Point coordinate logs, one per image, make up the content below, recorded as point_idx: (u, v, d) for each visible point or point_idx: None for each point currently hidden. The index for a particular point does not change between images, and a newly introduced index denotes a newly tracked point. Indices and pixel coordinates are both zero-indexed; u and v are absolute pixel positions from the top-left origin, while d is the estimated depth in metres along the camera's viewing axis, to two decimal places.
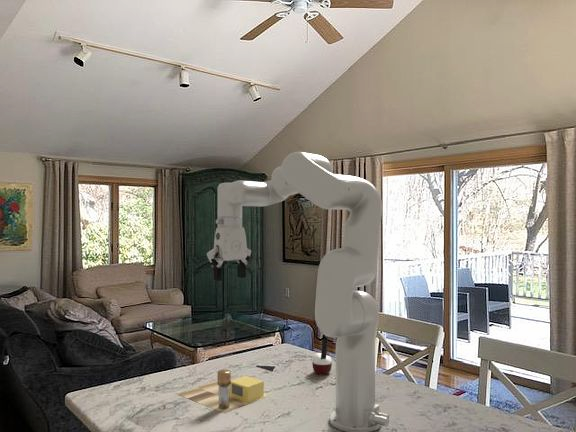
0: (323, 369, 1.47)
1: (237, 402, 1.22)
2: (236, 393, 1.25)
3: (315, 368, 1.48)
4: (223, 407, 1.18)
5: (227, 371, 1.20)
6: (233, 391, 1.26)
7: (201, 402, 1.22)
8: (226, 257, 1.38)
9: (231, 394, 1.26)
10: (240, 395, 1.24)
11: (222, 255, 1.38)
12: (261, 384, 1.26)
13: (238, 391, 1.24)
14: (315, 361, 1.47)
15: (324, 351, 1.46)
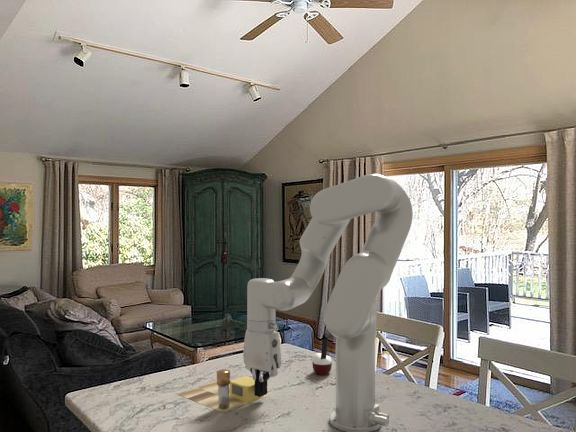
0: (323, 369, 1.47)
1: (237, 402, 1.22)
2: (236, 393, 1.25)
3: (315, 368, 1.48)
4: (223, 407, 1.18)
5: (226, 371, 1.20)
6: (233, 391, 1.26)
7: (201, 402, 1.22)
8: None
9: (231, 394, 1.26)
10: (240, 395, 1.24)
11: (280, 363, 1.22)
12: None
13: (238, 391, 1.24)
14: (315, 361, 1.47)
15: (324, 351, 1.46)
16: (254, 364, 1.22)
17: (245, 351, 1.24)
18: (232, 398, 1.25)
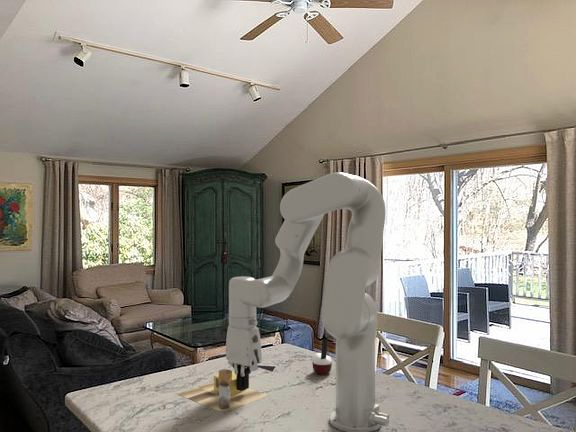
0: (323, 369, 1.47)
1: (237, 402, 1.22)
2: None
3: (315, 368, 1.48)
4: (223, 407, 1.18)
5: (228, 371, 1.20)
6: (217, 385, 1.30)
7: (201, 402, 1.22)
8: None
9: (215, 388, 1.31)
10: None
11: (261, 358, 1.26)
12: None
13: None
14: (315, 361, 1.47)
15: (324, 351, 1.46)
16: (236, 359, 1.26)
17: (227, 347, 1.29)
18: (232, 398, 1.25)
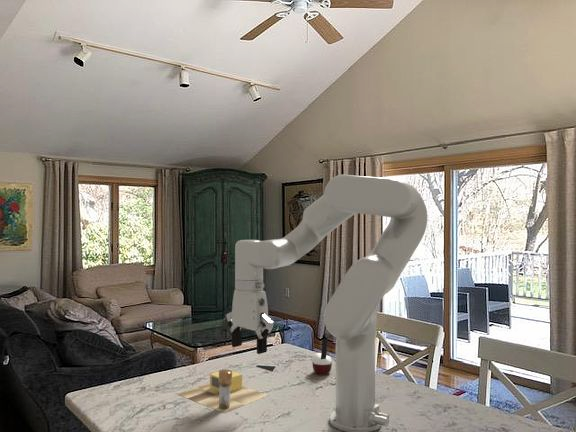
0: (323, 369, 1.47)
1: (237, 402, 1.22)
2: (215, 385, 1.31)
3: (315, 368, 1.48)
4: (224, 407, 1.18)
5: (228, 371, 1.19)
6: (213, 383, 1.32)
7: (201, 402, 1.22)
8: None
9: (211, 386, 1.32)
10: None
11: None
12: (239, 377, 1.32)
13: (217, 383, 1.30)
14: (315, 361, 1.47)
15: (324, 351, 1.46)
16: (242, 323, 1.24)
17: (233, 311, 1.26)
18: (232, 398, 1.25)
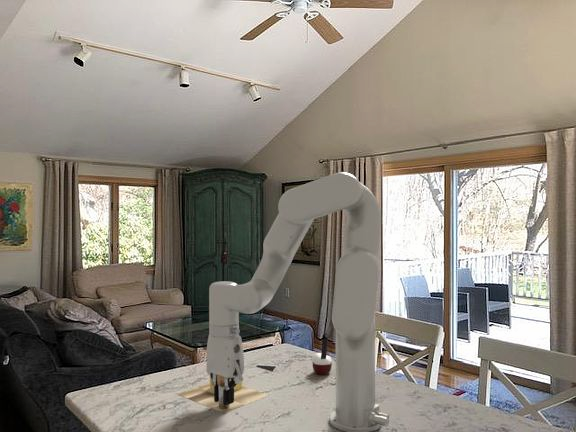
0: (323, 369, 1.47)
1: (237, 402, 1.22)
2: None
3: (315, 368, 1.48)
4: (224, 407, 1.18)
5: None
6: None
7: (201, 402, 1.22)
8: None
9: (211, 386, 1.32)
10: None
11: (243, 369, 1.18)
12: None
13: None
14: (315, 361, 1.47)
15: (324, 351, 1.46)
16: (216, 370, 1.18)
17: (208, 357, 1.20)
18: None
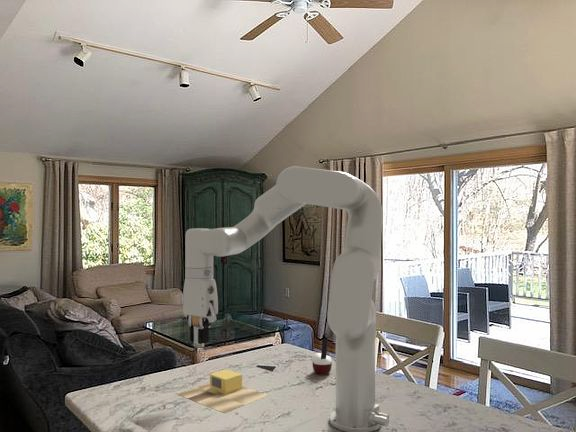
0: (323, 369, 1.47)
1: (237, 402, 1.22)
2: (215, 385, 1.31)
3: (315, 368, 1.48)
4: (199, 345, 1.25)
5: None
6: (213, 383, 1.32)
7: (201, 402, 1.22)
8: None
9: (211, 386, 1.32)
10: (219, 387, 1.30)
11: (217, 310, 1.25)
12: (239, 377, 1.32)
13: (217, 383, 1.30)
14: (315, 361, 1.47)
15: (324, 351, 1.46)
16: (192, 311, 1.25)
17: (184, 299, 1.27)
18: (232, 398, 1.25)
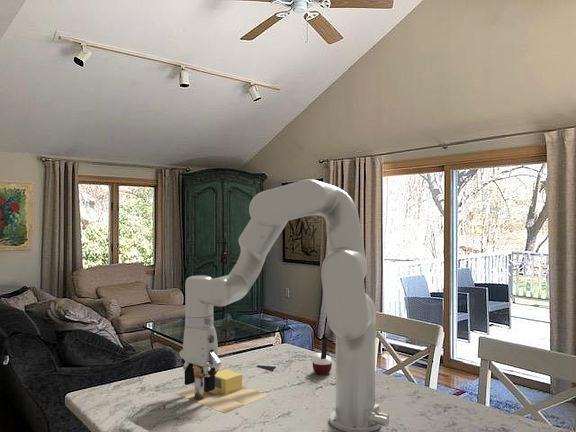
0: (323, 369, 1.47)
1: (237, 402, 1.22)
2: (215, 385, 1.31)
3: (315, 368, 1.48)
4: (199, 397, 1.24)
5: None
6: None
7: (201, 402, 1.22)
8: None
9: None
10: (219, 387, 1.30)
11: None
12: (239, 377, 1.32)
13: (217, 383, 1.30)
14: (315, 361, 1.47)
15: (324, 351, 1.46)
16: (192, 359, 1.24)
17: (184, 347, 1.27)
18: (232, 398, 1.25)
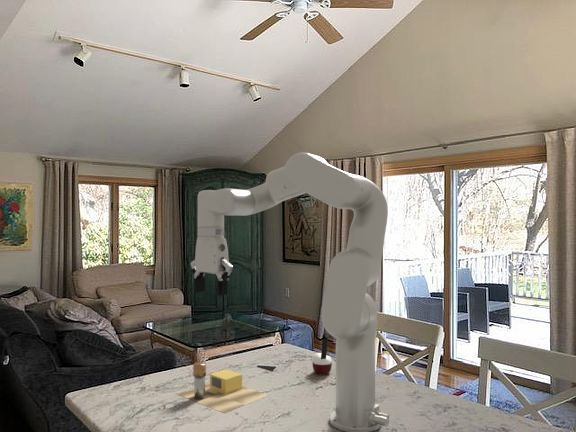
0: (323, 369, 1.47)
1: (237, 402, 1.22)
2: (215, 385, 1.31)
3: (315, 368, 1.48)
4: (199, 397, 1.24)
5: (202, 363, 1.26)
6: (213, 383, 1.32)
7: (201, 402, 1.22)
8: None
9: (211, 386, 1.32)
10: (219, 387, 1.30)
11: None
12: (239, 377, 1.32)
13: (217, 383, 1.30)
14: (315, 361, 1.47)
15: (324, 351, 1.46)
16: (204, 268, 1.32)
17: (196, 258, 1.34)
18: (232, 398, 1.25)
